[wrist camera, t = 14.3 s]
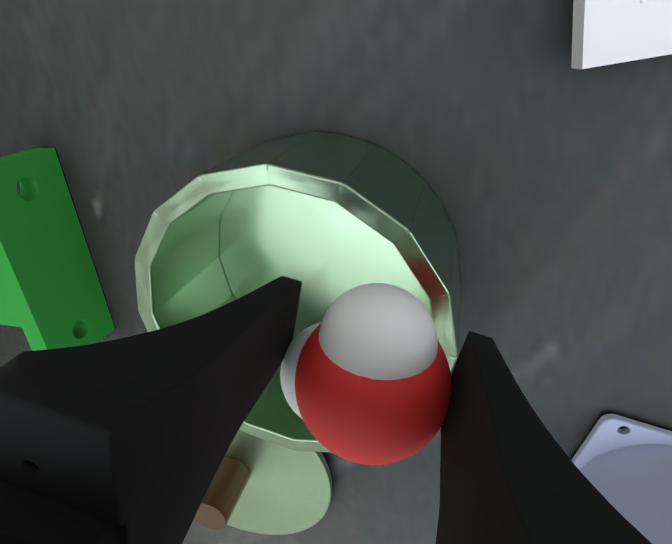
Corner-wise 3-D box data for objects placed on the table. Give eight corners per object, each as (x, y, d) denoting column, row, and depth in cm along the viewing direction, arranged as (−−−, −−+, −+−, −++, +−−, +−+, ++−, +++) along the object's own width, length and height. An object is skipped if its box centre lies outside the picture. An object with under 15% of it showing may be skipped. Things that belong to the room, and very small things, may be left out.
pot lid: (352, 420, 26) (331, 487, 22) (319, 543, 33) (299, 611, 29) (149, 353, 28) (98, 403, 24) (157, 482, 35) (118, 537, 31)
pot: (499, 170, 17) (511, 224, 12) (418, 393, 24) (405, 489, 19) (213, 103, 19) (122, 127, 14) (208, 327, 25) (144, 398, 20)
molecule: (440, 400, 15) (431, 521, 11) (300, 368, 15) (249, 470, 12) (472, 267, 12) (476, 366, 8) (304, 239, 13) (242, 317, 9)
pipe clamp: (0, 146, 24) (-95, 167, 20) (56, 146, 23) (-31, 169, 19) (67, 322, 29) (2, 367, 25) (115, 329, 28) (56, 377, 24)
